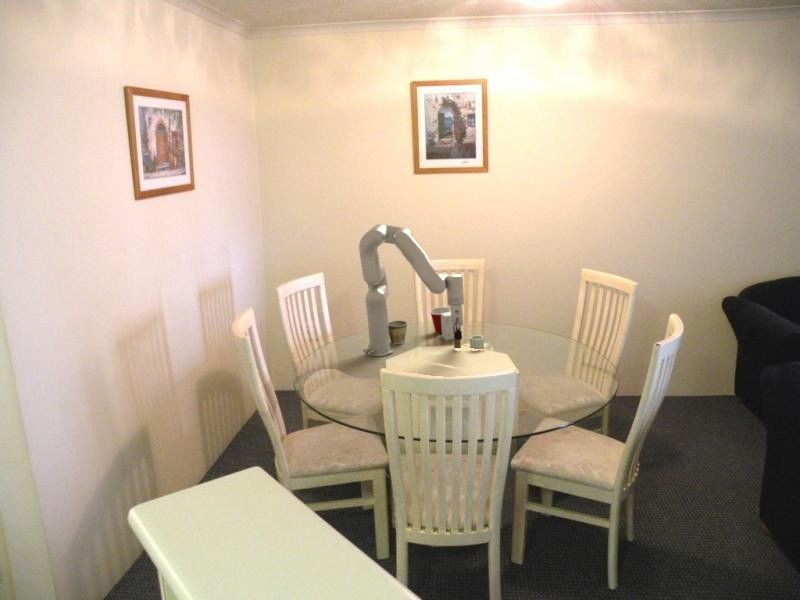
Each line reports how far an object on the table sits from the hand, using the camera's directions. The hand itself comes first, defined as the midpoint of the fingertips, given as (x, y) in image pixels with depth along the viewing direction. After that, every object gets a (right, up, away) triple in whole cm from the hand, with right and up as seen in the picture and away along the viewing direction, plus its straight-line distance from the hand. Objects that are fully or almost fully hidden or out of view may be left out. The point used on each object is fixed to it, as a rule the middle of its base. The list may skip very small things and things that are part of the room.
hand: (457, 336), depth 302 cm
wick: (0, -6, +1) cm, 6 cm away
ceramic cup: (-28, -4, +20) cm, 34 cm away
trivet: (+7, -6, +2) cm, 10 cm away
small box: (-1, -3, +20) cm, 20 cm away
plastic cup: (-6, 0, +31) cm, 32 cm away
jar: (+9, -5, +1) cm, 11 cm away
